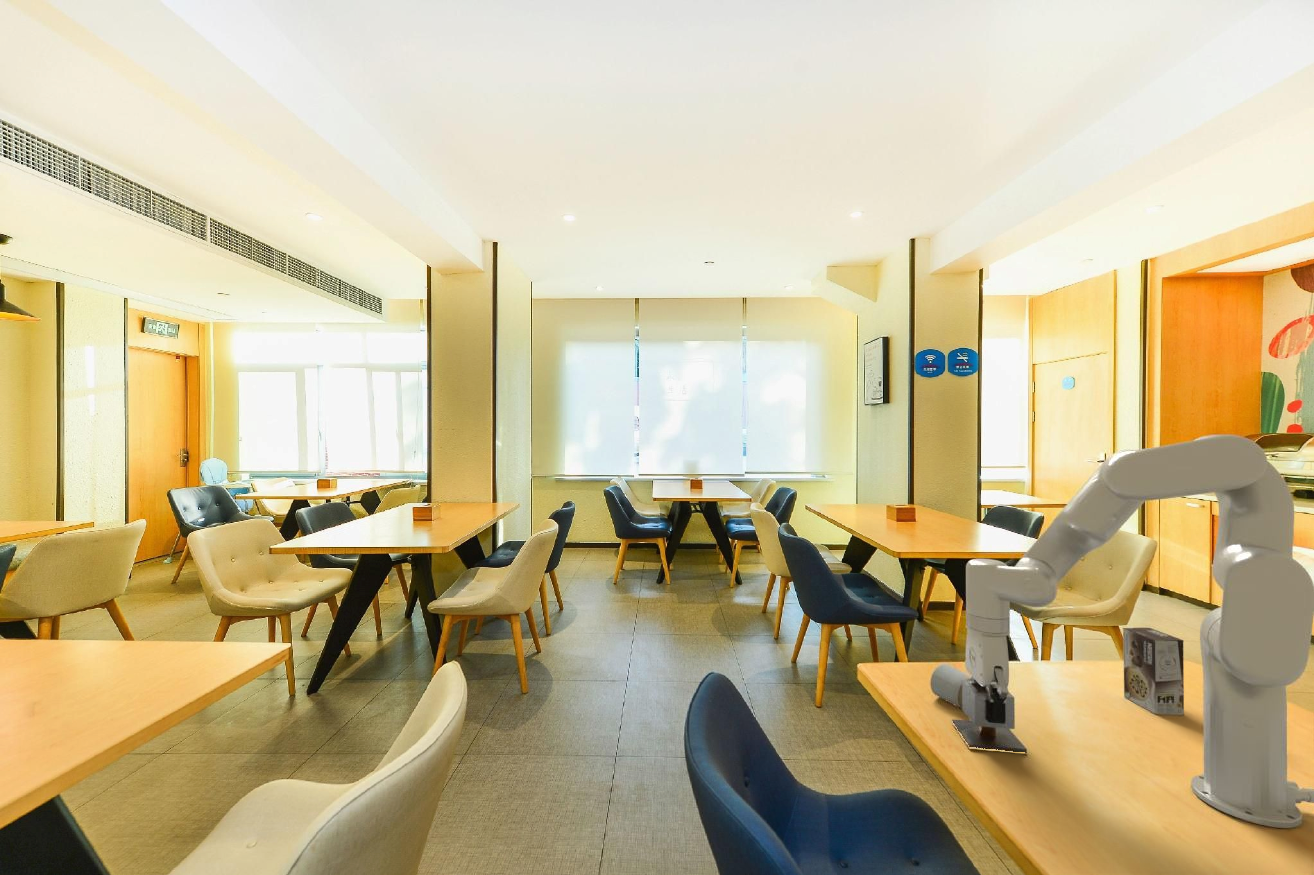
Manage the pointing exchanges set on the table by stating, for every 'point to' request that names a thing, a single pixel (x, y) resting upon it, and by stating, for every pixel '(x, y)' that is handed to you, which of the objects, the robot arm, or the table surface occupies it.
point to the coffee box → (1154, 670)
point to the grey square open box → (984, 705)
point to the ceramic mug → (948, 683)
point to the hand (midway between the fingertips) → (988, 712)
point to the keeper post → (989, 737)
